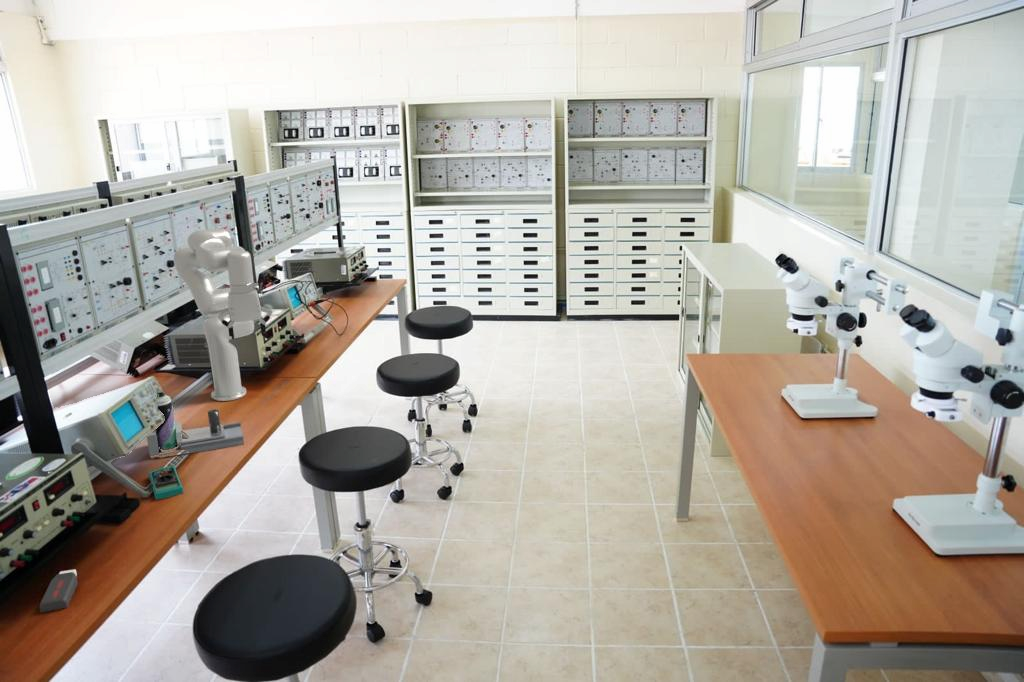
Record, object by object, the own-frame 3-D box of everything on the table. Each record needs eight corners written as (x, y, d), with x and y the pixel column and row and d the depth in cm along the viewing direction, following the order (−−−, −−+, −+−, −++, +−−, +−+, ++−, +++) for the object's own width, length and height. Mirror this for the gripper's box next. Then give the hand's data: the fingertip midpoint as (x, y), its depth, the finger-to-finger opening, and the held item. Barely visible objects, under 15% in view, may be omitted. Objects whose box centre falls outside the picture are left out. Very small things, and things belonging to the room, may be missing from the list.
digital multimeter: (175, 472, 208) (174, 463, 207) (184, 494, 196) (182, 485, 195) (149, 478, 204) (147, 470, 203) (156, 502, 192) (154, 493, 191)
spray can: (158, 453, 217) (148, 396, 211) (161, 445, 222) (152, 389, 216) (177, 451, 219) (167, 394, 212) (180, 443, 224) (171, 387, 217)
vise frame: (151, 443, 224) (147, 421, 221) (241, 428, 235) (238, 407, 232) (150, 460, 213) (146, 437, 211) (244, 444, 224) (241, 422, 222)
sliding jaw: (178, 437, 225) (174, 412, 222) (223, 429, 230) (220, 405, 227) (178, 448, 218) (173, 422, 215) (225, 440, 223) (221, 415, 220)
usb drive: (40, 614, 150) (37, 603, 149) (56, 579, 161) (54, 569, 160) (67, 609, 152) (65, 599, 151) (81, 575, 163) (79, 565, 162)
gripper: (268, 283, 235) (273, 330, 241) (213, 287, 228) (220, 336, 234) (270, 288, 228) (275, 336, 234) (214, 293, 222) (221, 343, 227)
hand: (247, 336), depth 234 cm, fingers open, 9 cm apart
